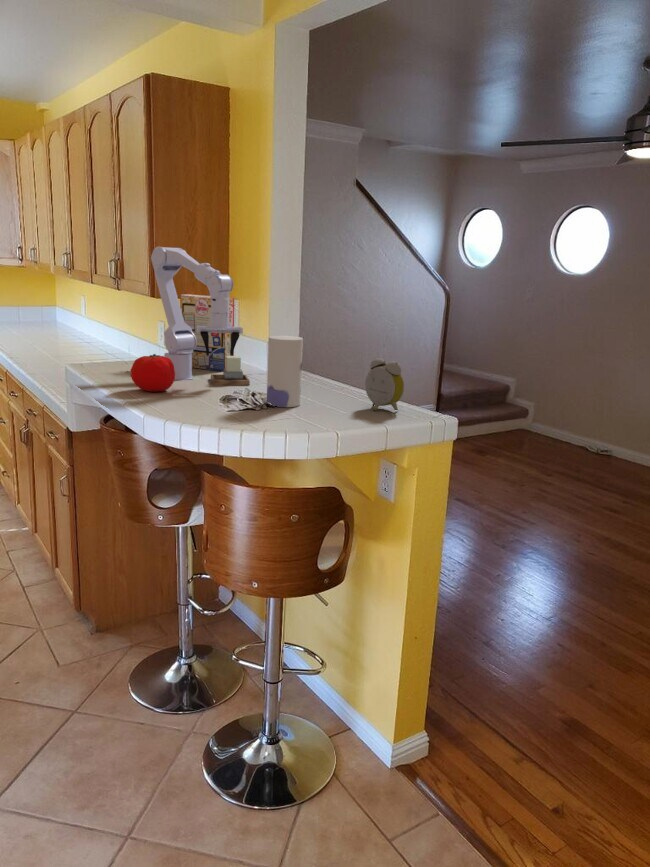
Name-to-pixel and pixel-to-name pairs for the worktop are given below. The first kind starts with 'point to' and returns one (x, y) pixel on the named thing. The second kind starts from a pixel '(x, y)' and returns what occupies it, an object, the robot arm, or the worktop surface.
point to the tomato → (153, 373)
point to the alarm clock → (384, 383)
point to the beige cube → (233, 363)
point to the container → (284, 370)
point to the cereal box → (199, 314)
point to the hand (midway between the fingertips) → (219, 355)
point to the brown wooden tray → (218, 380)
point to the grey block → (232, 375)
